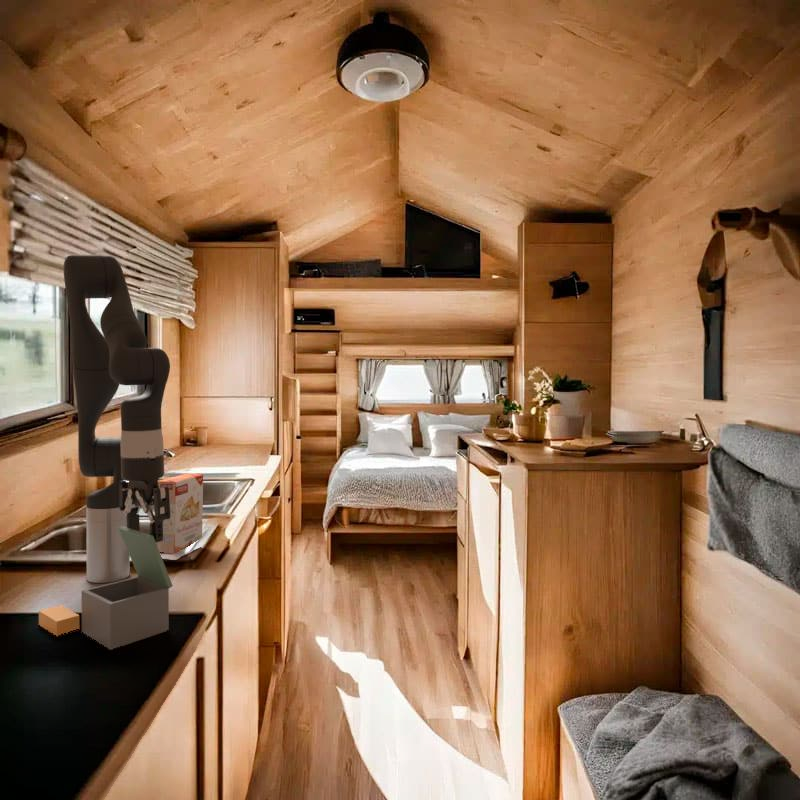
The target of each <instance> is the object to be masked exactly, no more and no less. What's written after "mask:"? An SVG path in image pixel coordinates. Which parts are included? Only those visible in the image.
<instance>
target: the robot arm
mask: <svg viewBox="0 0 800 800" xmlns="http://www.w3.org/2000/svg"><path fill="white" fill-rule="evenodd" d="M63 278H64V279H63V280H64V287H65V294H66V300H67V307H68V315H69V321H70V322H69V323H70V329H71V330H70V331H71V332H70V334H71V344H72V345H71V346H72V349H71V350H72V368H73V369H72V370H73V381H74V389H75V396H76V398H75V399H76V407H77V418H78V419H77V427H78V429H77V431H78V433H77V436H78V437H77V438H78V439H77V440H78V441H77V442H78V443H77V446H78V447H77V448H78V450H77V451H78V453H77V454H78V465H79V470H80V472H81V474H82V475H83V476H84V477H86V478H87V477H89V478H106V477H110V478H111V477H113V478H114V479H113V481H112V483H110V484H109V485H107V486H106V487H103V488H100V489H98V490H94V491H93V492H90V493H89V494H87V496H86V499H85V500H86V501H85V502H86V503H85V506H86V509H85V511H86V515H85V516H86V517H85V518H86V519H85V520H86V539H85V540H86V581H88V582H89V583H96V584H105V583H106V584H108V583H113V582H117V581H121V580H125V579H128V577H130V573H131V572H130V571H131V567H130V565H131V564H130V563H131V561H130V560H131V558H130V555H129V553H128V550H127V548H126V545H125V543H124V541H123V538H122V536H121V533H120V531H119V528H120V527H121V526H124V527H127V528H130V529H133V530H136V531H139V532H141V531H140V529H141V528H140V510H141V509H142V511H143V513H145V514H147V517H148V520H149V535H152V536H153V537H154V539H155V542H160V541H162V540H163V521H164V520H166V519H170V500H169V488H168V487H161V488H159V485H158V481H159V480H160V479H161V478H163V477H164V476H165V456H164V455H165V453H164V452H165V451H164V450H165V449H164V437H163V432H162V430H163V429H162V405H163V399H164V394H165V390H166V386H167V383H168V380H169V375H170V370H171V363H170V359H169V356H168V354H167V353H166V352H165V351H164V350H163V349H161V348H159V347H147V345H148V338H147V335H146V333H145V331H144V329H143V327H142V325H141V323H140V322H139V320H138V317H137V315H136V313H135V310H134V308H133V303H132V299H131V296H130V295H131V294H130V291H129V288H128V285H127V281H126V277H125V273H124V271H123V268H122V266H121V264H120V262H119V261H118V260H117V258H116V257H114V256H111V255H106V254H68V255H67V256H66V257H65V259H64V261H63ZM109 298H111V299H110V301H109V302H108V303H107V305H106V306H105V308H104V309H103V310H102V312H101V316H100V321H99V322H100V323H99V324H100V329H101V331H102V332H101V331H100V330H99V328H98V327H97V326H96V324H95V322H94V320H93V319H92V318H91V315H90V313H89V312H88V308H87V305H86V299H109ZM120 385H122V386H146V388H145V390H144V392H143V393H142V394H140V395H138V396H134V397H131V398H127V399H125V400H123V401H122V402H121V404H120V422H121V423H120V424H121V425H120V426H121V430H120V432H121V435H120V437H96V428H97V424H98V422H99V420H100V418H101V416H102V415H103V414H104V411H105V410H106V409H107V407H108V405H109V404H110V403H111V401H112V400H113V398H114V397H115V395H116V394H117V391H118V390H119V387H120ZM162 507H164V512H163V510H162Z"/></svg>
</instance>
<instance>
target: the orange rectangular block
mask: <svg viewBox="0 0 800 800" xmlns="http://www.w3.org/2000/svg"><path fill="white" fill-rule="evenodd" d="M39 625H40V627H42V629H45V630H46V631H47V630H48V631H47V632H49V633H51V634H52V633H53V634H52V635H54V636H55V635H56V637H59V635H60V636H62V635H61V634H63V635H65V634H64V633H66V634H69V633H68V632H70V631H73V630H76V629H79V630H80V615H79V614H78V613H76V612H74V611H73V610H71V609H69V608H67V607H65V606H64V605H61V604H60V605H56V606H52V607H50V608H49V607H48V608H44V609H41V610H38V626H39ZM76 631H77V630H76ZM73 632H74V631H73ZM70 633H71V632H70Z"/></svg>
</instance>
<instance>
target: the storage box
mask: <svg viewBox="0 0 800 800" xmlns="http://www.w3.org/2000/svg"><path fill="white" fill-rule="evenodd" d="M169 589H170V588H167V587H164V586H162V585H159V584H157V583H154V582H152V581H149V580H147V579H145V578H142V577H140V576H138V575H137V576H134V577H130V578H124V579H122V580H118V581H114V582H108V583H106V584H105V583H104V584H102V585H98V586H93V587H90V588H86V589H82V590H81V633H82V632H83V633H84V634H86V635H87V636H86V635H85V636H86V637H88V636H89V637H91V638H92V639H91V638H90V639H91V640H93V639H94V640H96V641H97V642H96V641H95V642H96V643H98V642H99V643H98V644H100V645H101V644H102V645H101V646H103V645H104V648H106V647H107V649H108V650H111V651H112V650H114V648H115V649H118V648H121V647H124V646H126V645H129V644H132V643H135V642H138V641H141V640H144V639H147V638H150V637H153V636H156V635H159V634H162V633H165V632H167V630H168V631H169V630H170V629H169V628H170V627H169V624H170V623H169V621H170V620H169V619H170V617H169V616H170V615H169V608H170V607H169V606H170V605H169V599H170V598H169V597H170V595H169V592H170V590H169ZM84 634H83V635H84ZM89 637H88V638H89ZM94 640H93V641H94ZM120 646H121V647H120ZM117 647H118V648H117Z"/></svg>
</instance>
